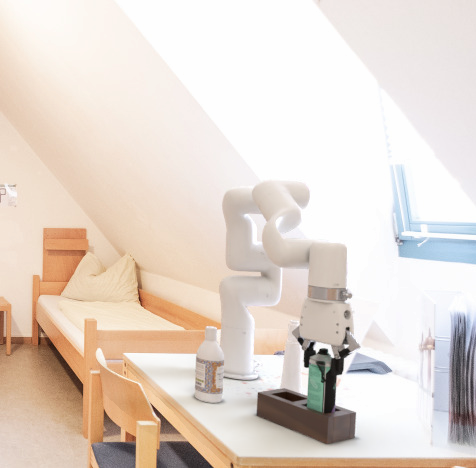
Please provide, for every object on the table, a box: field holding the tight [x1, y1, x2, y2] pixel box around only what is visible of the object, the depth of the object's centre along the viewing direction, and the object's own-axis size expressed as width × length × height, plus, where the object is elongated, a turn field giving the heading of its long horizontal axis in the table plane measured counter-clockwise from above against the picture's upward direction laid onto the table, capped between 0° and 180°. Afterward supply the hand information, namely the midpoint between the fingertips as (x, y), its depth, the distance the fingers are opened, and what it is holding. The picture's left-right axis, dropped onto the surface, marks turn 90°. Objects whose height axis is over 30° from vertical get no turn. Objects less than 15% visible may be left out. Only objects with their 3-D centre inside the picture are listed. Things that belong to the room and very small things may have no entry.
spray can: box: [306, 347, 338, 414], centre depth 125 cm, size 6×6×20 cm
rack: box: [256, 388, 357, 445], centre depth 129 cm, size 10×18×6 cm, turn 23°
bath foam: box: [194, 325, 224, 404], centre depth 146 cm, size 7×7×20 cm
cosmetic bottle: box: [279, 319, 303, 394], centre depth 147 cm, size 6×6×22 cm
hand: (322, 370), depth 125 cm, fingers closed on spray can, 5 cm apart
